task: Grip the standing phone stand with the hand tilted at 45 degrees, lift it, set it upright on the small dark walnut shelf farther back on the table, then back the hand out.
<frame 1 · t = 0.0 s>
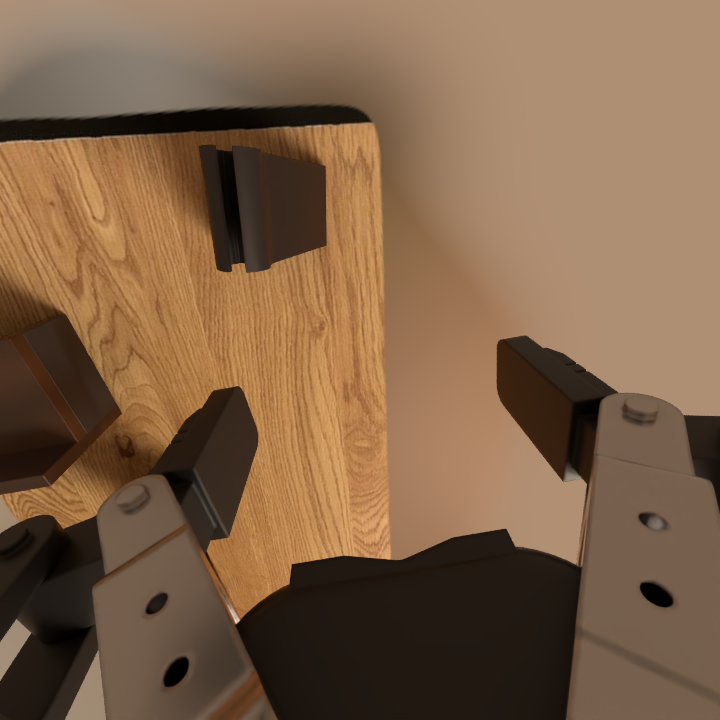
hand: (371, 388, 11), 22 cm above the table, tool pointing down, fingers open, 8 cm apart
shelf: (33, 373, 34), on the table
phone stand: (271, 205, 29), on the table
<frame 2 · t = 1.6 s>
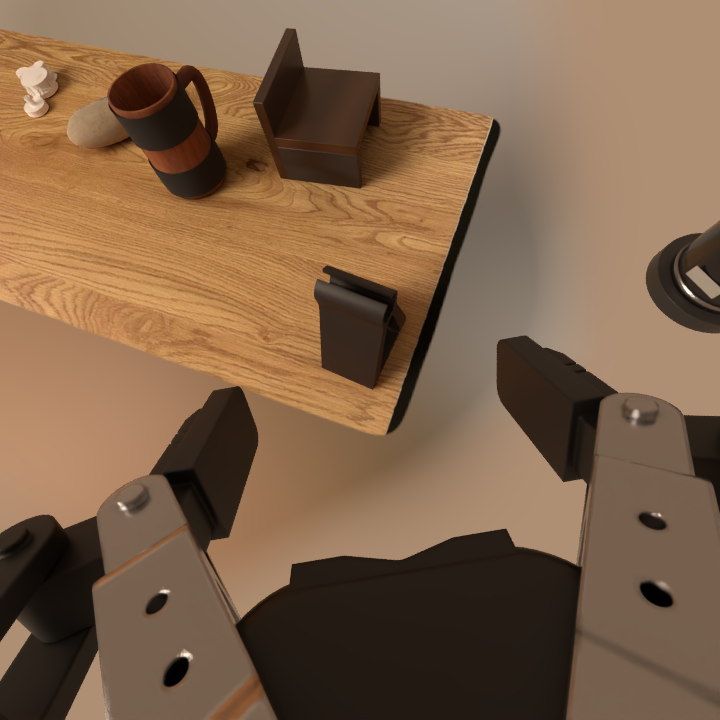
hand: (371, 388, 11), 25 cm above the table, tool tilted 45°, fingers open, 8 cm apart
shelf: (335, 149, 47), on the table
mug: (207, 169, 48), on the table
phone stand: (365, 343, 38), on the table
stone: (125, 137, 52), on the table
white rounded lumpy shapes: (42, 92, 56), on the table
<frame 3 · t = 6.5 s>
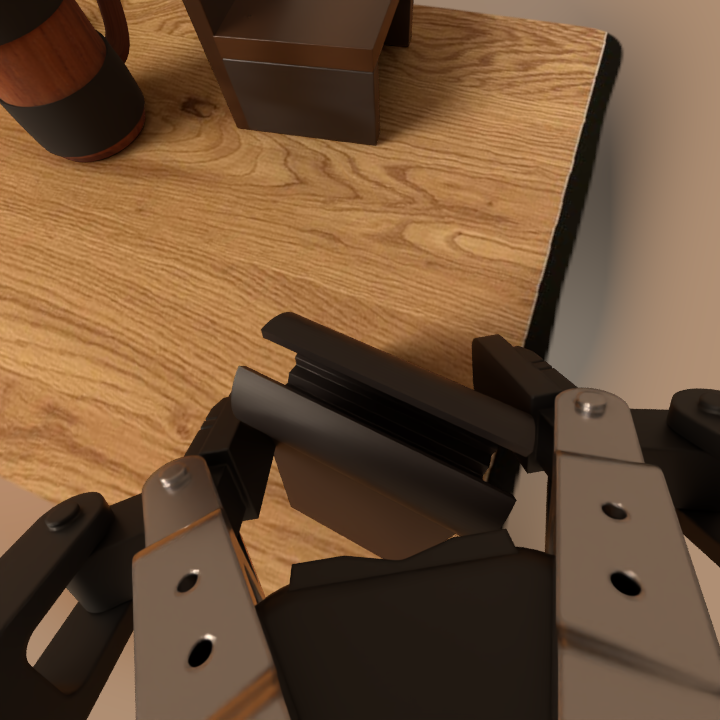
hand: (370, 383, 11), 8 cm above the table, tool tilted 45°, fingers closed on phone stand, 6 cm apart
shelf: (333, 82, 27), on the table
mug: (116, 115, 29), on the table
phone stand: (383, 450, 18), on the table, touching gripper
when the fingers open (14 cm above the table, at t = 15.4 s): phone stand stays where it is, resting on shelf.
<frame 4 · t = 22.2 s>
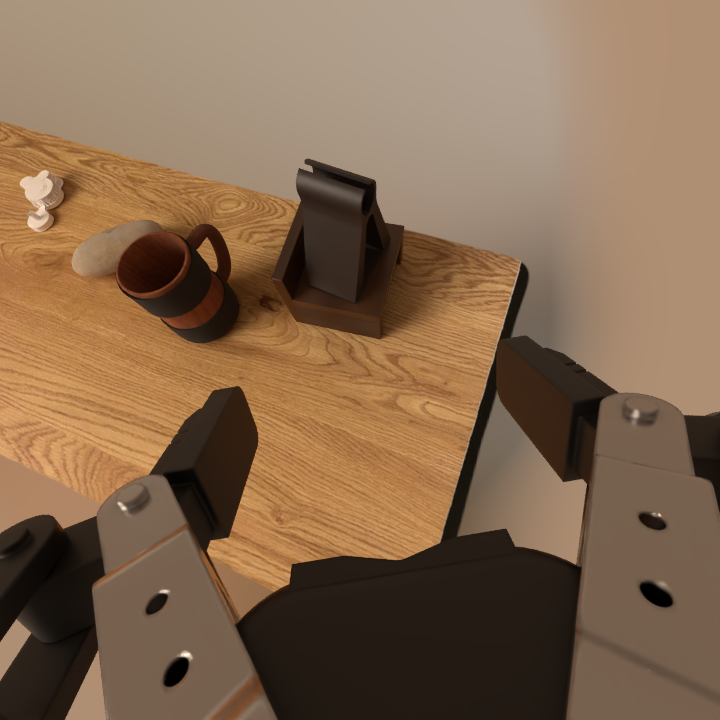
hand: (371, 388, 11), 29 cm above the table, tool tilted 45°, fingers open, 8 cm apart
shelf: (353, 289, 45), on the table
mug: (218, 305, 46), on the table
phone stand: (349, 263, 39), point 6 cm above the table, touching shelf
stone: (133, 260, 49), on the table
white rounded lumpy shapes: (47, 201, 54), on the table
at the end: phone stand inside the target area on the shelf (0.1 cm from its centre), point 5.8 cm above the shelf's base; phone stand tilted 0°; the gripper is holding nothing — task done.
